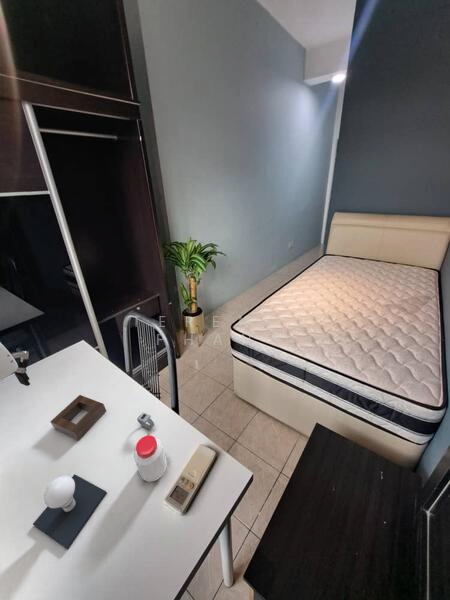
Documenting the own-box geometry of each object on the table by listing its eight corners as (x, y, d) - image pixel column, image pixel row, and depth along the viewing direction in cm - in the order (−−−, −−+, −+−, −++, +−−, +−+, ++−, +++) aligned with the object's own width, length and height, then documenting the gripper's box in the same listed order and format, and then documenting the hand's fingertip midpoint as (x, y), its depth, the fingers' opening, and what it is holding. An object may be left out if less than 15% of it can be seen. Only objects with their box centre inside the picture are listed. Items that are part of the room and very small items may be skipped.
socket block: (54, 429, 85) (50, 421, 83) (83, 401, 94) (79, 394, 92) (79, 440, 80) (75, 433, 78) (106, 410, 90) (103, 403, 88)
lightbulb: (68, 491, 67) (53, 468, 62) (89, 494, 66) (76, 471, 61) (50, 520, 61) (32, 498, 56) (73, 524, 60) (57, 502, 55)
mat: (34, 525, 61) (32, 524, 61) (75, 475, 71) (74, 474, 71) (68, 549, 57) (66, 547, 57) (107, 493, 67) (106, 491, 66)
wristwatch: (157, 426, 84) (154, 416, 81) (151, 433, 81) (148, 423, 79) (142, 419, 86) (139, 410, 84) (137, 426, 84) (134, 417, 81)
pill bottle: (141, 487, 68) (132, 464, 62) (138, 460, 74) (130, 438, 69) (169, 474, 70) (163, 451, 65) (164, 449, 77) (157, 427, 71)
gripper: (1, 320, 61) (30, 370, 70) (-97, 367, 48) (-46, 423, 56) (21, 325, 59) (48, 377, 67) (-78, 376, 45) (-28, 434, 53)
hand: (5, 398), depth 61 cm, fingers open, 9 cm apart
